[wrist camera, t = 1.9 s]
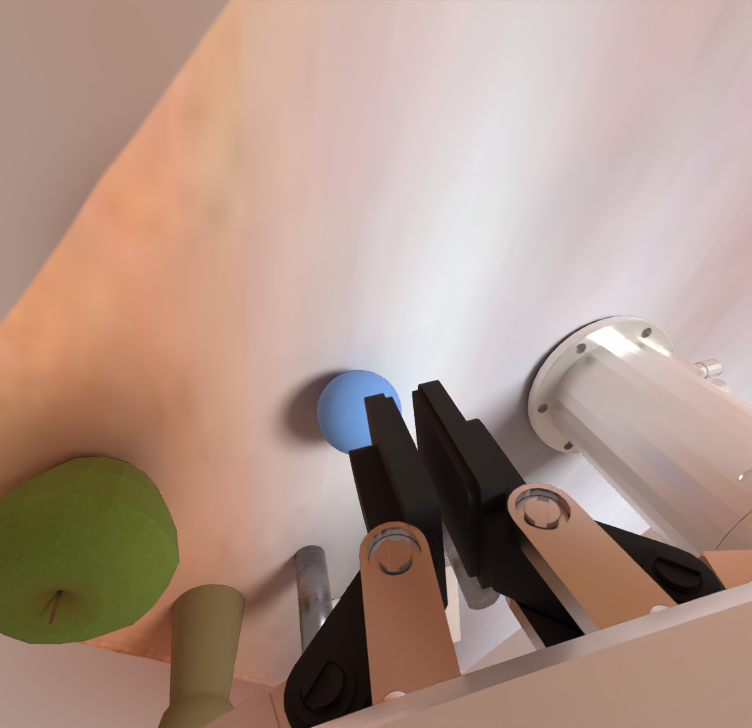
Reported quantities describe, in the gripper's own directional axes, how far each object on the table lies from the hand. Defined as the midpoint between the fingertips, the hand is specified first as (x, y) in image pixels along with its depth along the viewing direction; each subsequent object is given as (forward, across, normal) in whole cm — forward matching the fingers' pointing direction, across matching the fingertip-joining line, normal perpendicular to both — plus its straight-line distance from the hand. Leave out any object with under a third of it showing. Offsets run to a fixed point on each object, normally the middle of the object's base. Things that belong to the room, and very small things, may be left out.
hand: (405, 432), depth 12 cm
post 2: (+17, -6, +26) cm, 31 cm away
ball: (+14, 0, +10) cm, 17 cm away
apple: (+17, +18, +12) cm, 28 cm away
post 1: (+17, +6, +26) cm, 31 cm away
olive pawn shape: (+17, +16, +28) cm, 37 cm away
